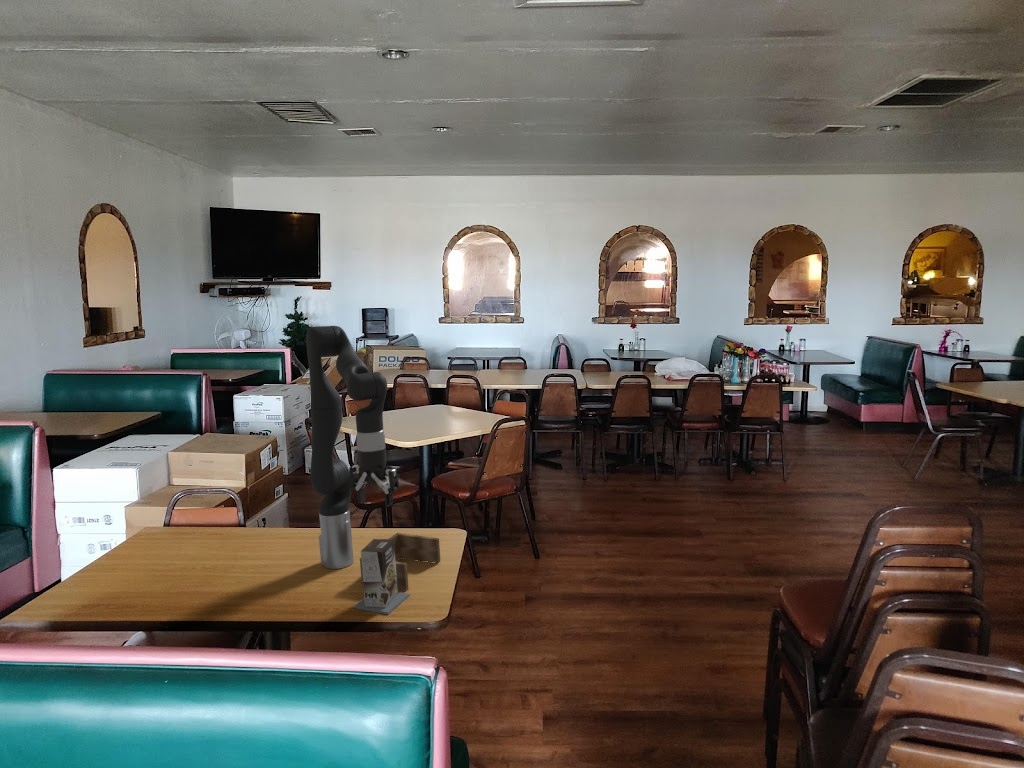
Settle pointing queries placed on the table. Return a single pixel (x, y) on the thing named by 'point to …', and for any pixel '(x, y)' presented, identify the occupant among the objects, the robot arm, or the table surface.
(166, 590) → the table surface
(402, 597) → the mat
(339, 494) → the robot arm
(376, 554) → the coffee box
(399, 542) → the cubby
